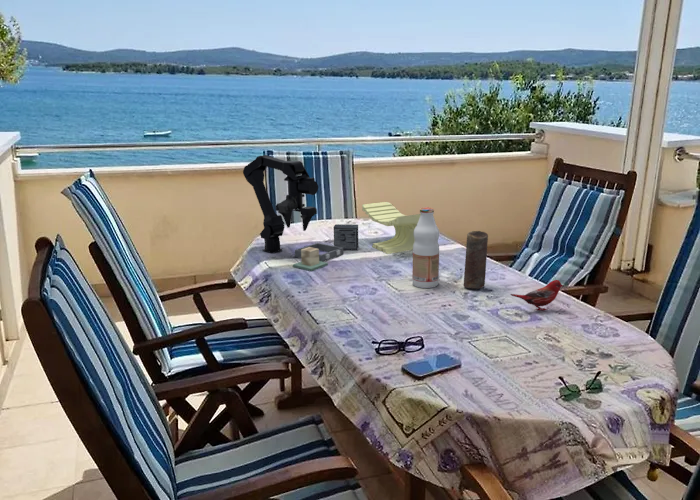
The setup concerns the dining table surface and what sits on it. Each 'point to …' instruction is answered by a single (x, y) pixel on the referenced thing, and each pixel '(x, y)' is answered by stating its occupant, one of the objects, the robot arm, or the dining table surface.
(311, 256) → the block
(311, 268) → the mat
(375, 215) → the slatted curved stool
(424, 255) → the fruit juice
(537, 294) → the decorative bird figurine
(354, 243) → the small box
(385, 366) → the dining table surface
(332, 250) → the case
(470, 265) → the candle
